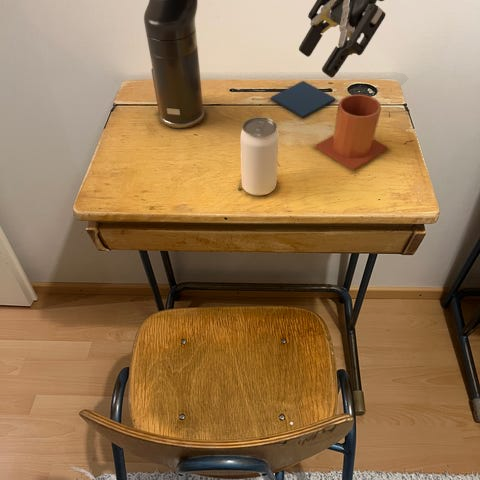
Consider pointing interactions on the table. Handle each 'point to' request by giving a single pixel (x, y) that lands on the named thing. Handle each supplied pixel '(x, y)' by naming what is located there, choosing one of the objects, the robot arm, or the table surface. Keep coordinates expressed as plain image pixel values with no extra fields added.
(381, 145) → the terracotta mat
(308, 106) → the blue mat
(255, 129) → the can
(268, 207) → the table surface
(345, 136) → the terracotta cup
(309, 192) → the table surface
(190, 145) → the table surface
